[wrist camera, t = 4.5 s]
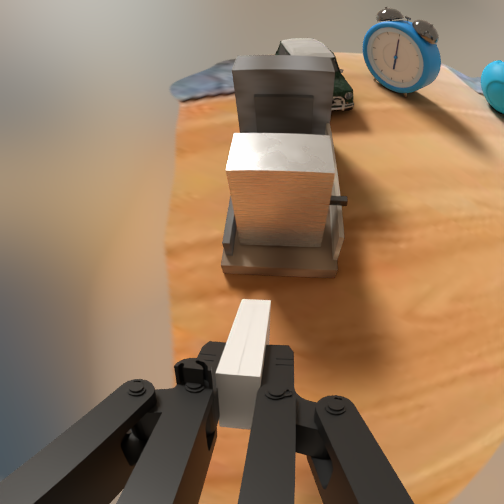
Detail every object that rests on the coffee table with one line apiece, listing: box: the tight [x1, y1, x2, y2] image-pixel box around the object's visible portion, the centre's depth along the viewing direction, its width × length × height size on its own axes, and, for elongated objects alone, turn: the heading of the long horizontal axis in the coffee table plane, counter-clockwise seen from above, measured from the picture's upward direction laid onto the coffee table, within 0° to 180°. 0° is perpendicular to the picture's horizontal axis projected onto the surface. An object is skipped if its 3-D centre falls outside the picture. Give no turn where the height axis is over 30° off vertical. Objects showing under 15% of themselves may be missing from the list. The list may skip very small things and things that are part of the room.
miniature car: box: [275, 38, 354, 111], centre depth 40 cm, size 9×18×8 cm, turn 9°
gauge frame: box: [221, 55, 345, 278], centre depth 27 cm, size 10×20×12 cm, turn 175°
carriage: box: [226, 133, 348, 248], centre depth 24 cm, size 9×4×9 cm, turn 85°
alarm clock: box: [363, 7, 441, 98], centre depth 38 cm, size 13×6×15 cm, turn 39°
